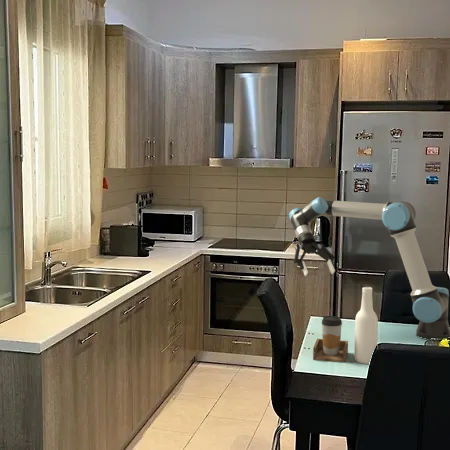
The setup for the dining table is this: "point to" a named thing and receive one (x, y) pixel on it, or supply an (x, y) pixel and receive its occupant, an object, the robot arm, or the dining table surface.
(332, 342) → the coffee cup
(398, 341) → the dining table surface
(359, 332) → the white bottle
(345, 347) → the cup holder
